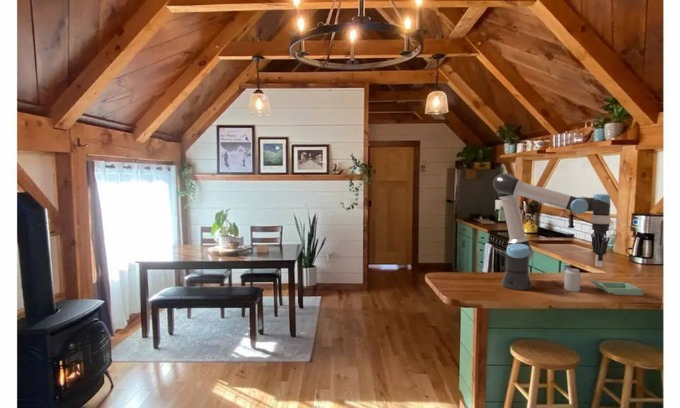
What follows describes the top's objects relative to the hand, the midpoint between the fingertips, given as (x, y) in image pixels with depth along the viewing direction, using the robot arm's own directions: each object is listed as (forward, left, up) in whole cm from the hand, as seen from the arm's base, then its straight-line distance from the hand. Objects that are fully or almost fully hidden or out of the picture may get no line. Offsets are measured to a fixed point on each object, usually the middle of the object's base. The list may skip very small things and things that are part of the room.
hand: (598, 266), depth 206 cm
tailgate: (+4, 0, -13) cm, 14 cm away
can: (-13, 0, -14) cm, 19 cm away
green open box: (+11, 0, -14) cm, 18 cm away
